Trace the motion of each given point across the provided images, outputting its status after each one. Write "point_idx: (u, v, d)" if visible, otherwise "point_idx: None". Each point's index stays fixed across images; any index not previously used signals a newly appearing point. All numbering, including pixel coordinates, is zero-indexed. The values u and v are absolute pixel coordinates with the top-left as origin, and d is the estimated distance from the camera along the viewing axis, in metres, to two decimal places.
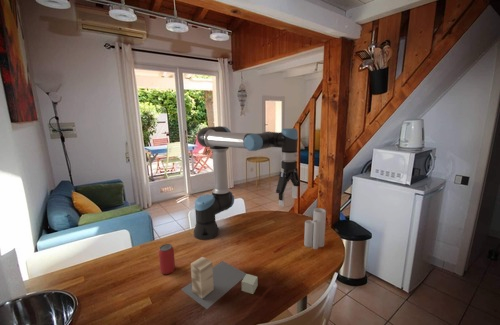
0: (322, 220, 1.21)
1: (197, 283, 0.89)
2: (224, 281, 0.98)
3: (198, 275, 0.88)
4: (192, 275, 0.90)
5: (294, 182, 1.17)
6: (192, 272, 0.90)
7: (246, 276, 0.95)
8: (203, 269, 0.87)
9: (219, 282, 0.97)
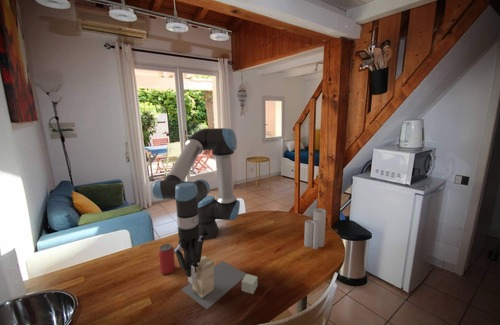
0: (322, 220, 1.21)
1: (197, 282, 0.89)
2: (224, 281, 0.98)
3: (199, 274, 0.88)
4: None
5: (192, 258, 0.86)
6: None
7: (246, 276, 0.95)
8: (205, 267, 0.88)
9: (219, 282, 0.97)
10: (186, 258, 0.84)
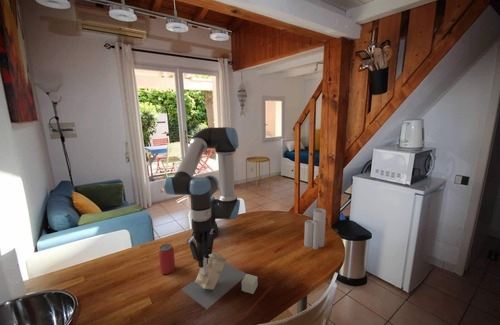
0: (322, 220, 1.21)
1: None
2: (224, 281, 0.98)
3: (212, 262, 0.93)
4: None
5: (204, 249, 0.90)
6: None
7: (246, 276, 0.95)
8: (219, 258, 0.94)
9: (219, 282, 0.97)
10: (199, 249, 0.88)
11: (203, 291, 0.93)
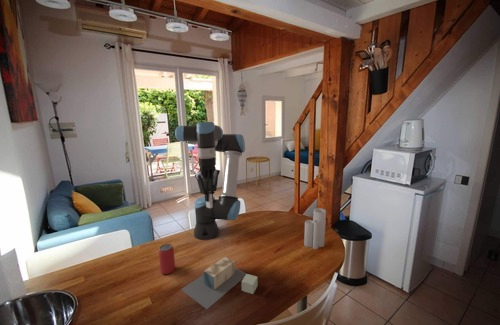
0: (322, 220, 1.21)
1: (218, 267, 0.98)
2: None
3: (227, 263, 1.00)
4: (218, 262, 1.01)
5: (210, 186, 1.04)
6: (221, 261, 1.02)
7: (246, 276, 0.95)
8: (233, 265, 1.02)
9: None
10: (205, 185, 1.02)
11: (203, 291, 0.93)
